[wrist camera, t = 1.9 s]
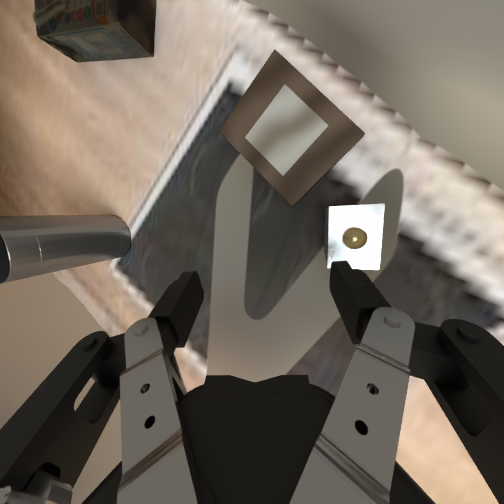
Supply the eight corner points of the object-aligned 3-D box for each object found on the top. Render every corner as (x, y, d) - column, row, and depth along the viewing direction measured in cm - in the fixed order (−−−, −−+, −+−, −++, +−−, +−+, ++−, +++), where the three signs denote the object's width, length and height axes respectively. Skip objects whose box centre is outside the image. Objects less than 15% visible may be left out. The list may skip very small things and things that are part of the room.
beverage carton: (75, 12, 35) (23, -31, 29) (159, -3, 30) (118, -59, 24) (77, 64, 37) (30, 34, 31) (157, 59, 32) (119, 22, 26)
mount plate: (362, 136, 24) (365, 132, 23) (293, 206, 29) (292, 206, 28) (276, 56, 26) (274, 48, 25) (222, 134, 30) (218, 131, 29)
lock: (324, 250, 29) (327, 269, 19) (325, 208, 28) (329, 206, 18) (358, 250, 27) (381, 271, 17) (360, 207, 26) (386, 203, 16)
